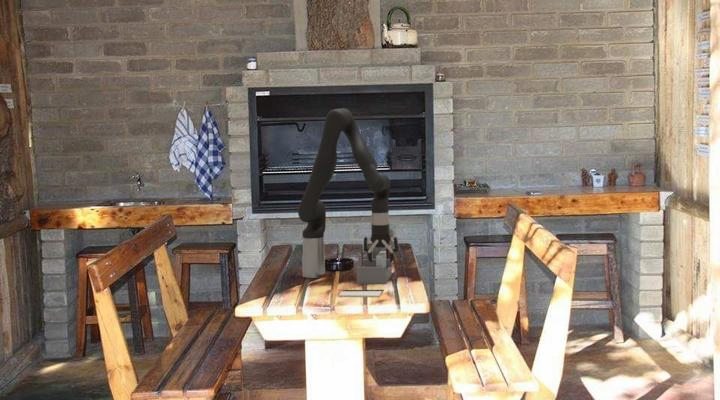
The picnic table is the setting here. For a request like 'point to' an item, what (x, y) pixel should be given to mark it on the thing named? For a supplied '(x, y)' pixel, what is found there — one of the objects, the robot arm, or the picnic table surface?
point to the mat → (361, 293)
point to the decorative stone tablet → (377, 250)
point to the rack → (373, 272)
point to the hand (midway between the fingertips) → (381, 261)
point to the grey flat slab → (381, 259)
